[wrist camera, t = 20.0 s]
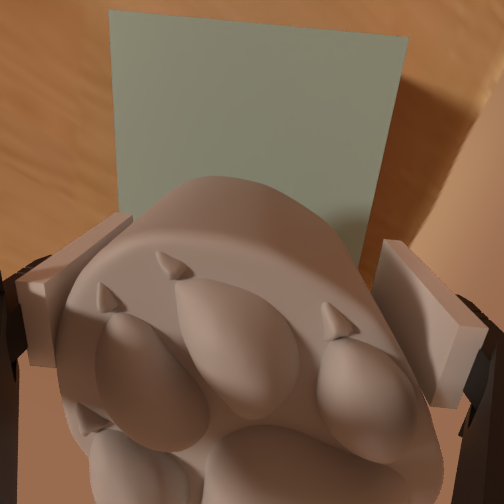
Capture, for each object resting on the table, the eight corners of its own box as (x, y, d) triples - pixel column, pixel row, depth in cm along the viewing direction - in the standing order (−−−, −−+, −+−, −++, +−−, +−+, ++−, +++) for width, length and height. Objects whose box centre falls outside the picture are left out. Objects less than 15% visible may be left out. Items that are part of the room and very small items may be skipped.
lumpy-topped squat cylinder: (222, 430, 20) (191, 640, 12) (83, 236, 16) (-99, 361, 8) (401, 367, 18) (506, 573, 10) (292, 124, 14) (323, 147, 6)
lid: (115, 14, 20) (108, 9, 19) (402, 40, 20) (409, 37, 19) (130, 318, 28) (125, 325, 27) (337, 341, 27) (339, 349, 26)
